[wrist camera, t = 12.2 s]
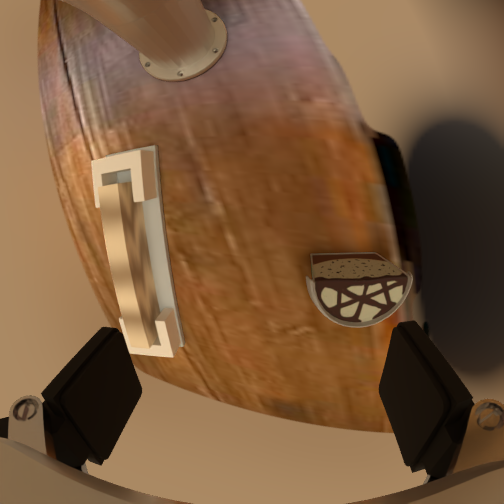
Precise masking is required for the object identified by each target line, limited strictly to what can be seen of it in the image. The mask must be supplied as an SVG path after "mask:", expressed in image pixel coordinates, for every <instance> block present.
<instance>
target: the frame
mask: <svg viewBox="0 0 504 504" xmlns="http://www.w3.org/2000/svg"><path fill="white" fill-rule="evenodd" d="M91 162H92V176H93V187H94V196H95V205H96V208H97V207H100V203H99V194H98V187H101V186H106V185H112V184H117V183H125V182H132V190H133V199H134V202H141V201H142V205H143V213H144V221H145V229H146V236H147V243H148V249H149V255H150V261H151V267H152V273H153V278H154V283H155V289H156V294H157V298H158V303H159V308H160V312H161V313H160V314H159V316H158V317H157V319H156V320H155V324H156V328H157V332H158V337H157V338H156V340H155V341H154V343H153V344H152V346H151V348H150V349H146V348H136V347H131V344H130V341H129V338H128V335H127V332H126V328H125V325H124V321H123V318H122V316H121V317H120V318H119V321H120V324H121V328H122V331H123V334H124V337H125V341H126V344H127V347H128V350H129V353H132V354H141V355H151V356H162V357H174V356H175V354H176V352H177V350H178V348H179V346H181V347H184V345H185V340H184V335H183V331H182V326H181V321H180V316H179V311H178V305H177V300H176V294H175V289H174V283H173V277H172V271H171V265H170V258H169V251H168V244H167V237H166V229H165V221H164V212H163V203H162V193H161V183H160V171H159V157H158V146H156V145H154V146H148V147H143V148H138V149H133V150H128V151H124V152H119V153H115V154H111V155H106V157H105V158H101V159H97V160H93V161H91Z"/></svg>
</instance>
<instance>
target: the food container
mask: <svg viewBox="0 0 504 504" xmlns="http://www.w3.org/2000/svg"><path fill="white" fill-rule="evenodd" d="M310 256H311V269H312V280H311V279H310V278H309V277H308V276H306V284H307V288H308V292H309V294H310V297H311V299H312V301H313V302H314V304H315V305H316V307H317V308H318V309H319V310H320V311H321V312H322V313H323V314H324V315H325V316H326V317H327V318H328V319H330V320H332V321H333V322H335V323H338V324H340V325H344V326H347V327H366V326H370V325H373V324H376V323H378V322H381V321H383V320H384V319H386V318H387V317H389V316H390V315H391V314H393V313H394V312H395V311H396V310H397V309H398V308H399V307H400V305H401V304H402V303H403V301H404V300H405V298H406V296H407V294H408V293H409V290H410V287H411V284H412V280H413V278H412V275H411V273H410V272H409V271H408V274H407V273H406V272H404V271H403V270H401V269H400V268H398V267H397V266H396V265H394V264H393V263H391V262H390V261H388V260H387V259H385V258H384V257H382V256H381V255H379V254H378V253H376V252H356V253H316V254H310Z"/></svg>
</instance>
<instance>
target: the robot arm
mask: <svg viewBox="0 0 504 504" xmlns="http://www.w3.org/2000/svg"><path fill="white" fill-rule="evenodd" d="M61 1H64V2H66V3H69V4H71V5H73V6H75V7H77V8H79V9H80V10H82V11H84V12H85V13H87V14H88V15H90V16H92V17H93V18H95V19H96V20H97V21H99V22H100V23H102V24H103V25H104V26H106V27H107V28H109V29H110V30H111V31H113V32H114V33H115V34H117V35H118V36H120V37H121V38H122V39H124V40H125V41H126V42H128V43H129V44H130V45H131V46H133V47H134V48H135V49H137V50H138V51H139V59H140V62H141V65H142V66H143V68H144V69H145V70H146V71H147V72H148V73H149V74H150V75H152V76H153V77H155V78H157V79H159V80H163V81H168V82H177V81H184V80H187V79H191V78H194V77H196V76H198V75H200V74H202V73H204V72H205V71H207V70H208V69H209V68H211V67H212V66H213V65H214V64H215V63H216V62H217V61H218V59H219V58H220V57H221V55H222V54H223V52H224V50H225V47H226V44H227V31H226V27H225V25H224V23H223V21H222V20H221V18H220V17H218V16H217V15H216V14H215V13H213V12H211V11H209V10H206V9H204V7H203V5H202V3H201V1H200V0H61ZM215 52H217V53H215ZM182 74H183V75H182ZM181 75H182V76H181ZM41 394H42V396H43V398H44V399H45V401H44V402H43V403H42V402H41V400H40V399H39V398H38V397H36V396H31V395H30V396H24V397H21V398H20V399H18V400H16V401H15V402H14V404H13V405H12V406H11V408H10V412H9V417H6V418H2V419H0V504H191V503H185V502H180V501H174V500H170V499H165V498H161V497H157V496H153V495H149V494H145V493H141V492H138V491H134V490H131V489H128V488H124V487H121V486H118V485H115V484H113V483H109V482H107V481H104V480H101V479H98V478H96V477H94V476H91V475H89V474H88V471H87V468H86V464H85V461H86V460H87V459H88V460H89V461H90V462H93V463H95V464H98V465H102V464H103V461H104V460H106V459H108V458H109V456H110V454H111V452H112V450H113V448H114V446H115V444H116V442H117V441H118V438H119V436H120V435H121V433H122V431H123V429H124V427H125V425H126V423H127V421H128V419H129V417H130V415H131V414H132V412H133V410H134V408H135V406H136V404H137V402H138V400H139V399H140V397H141V394H142V387H141V384H140V382H139V379H138V376H137V374H136V371H135V368H134V365H133V363H132V360H131V357H130V354H129V351H128V348H127V345H126V342H125V339H124V336H123V334H122V333H121V332H119V330H118V329H117V328H110V327H102V328H101V329H100V330H99V331H98V332H97V333H96V334H95V335H94V336H93V337H92V338H91V339H90V340H89V341H88V342H87V343H86V344H85V346H83V347H82V349H81V350H80V351H79V352H78V353H77V354H76V355H75V356H74V357H73V358H72V359H71V360H70V361H69V363H68V364H67V365H66V366H65V367H64V368H63V369H62V370H61V371H60V373H59V374H58V375H57V376H56V377H55V378H54V379H53V380H52V381H51V383H50V384H49V385H48V386H47V387H46V388H45V389H44V391H43V392H42V393H41ZM379 394H380V397H381V400H382V402H383V405H384V407H385V410H386V413H387V415H388V418H389V421H390V423H391V426H392V429H393V431H394V434H395V437H396V440H397V443H398V445H399V448H400V451H401V454H402V457H403V460H404V463H405V465H406V466H410V468H411V470H412V473H413V472H416V471H419V470H422V469H425V470H426V472H427V477H426V479H425V481H424V483H423V485H420V486H417V487H414V488H411V489H408V490H404V491H401V492H397V493H394V494H390V495H385V496H382V497H377V498H373V499H369V500H364V501H359V502H353V503H348V504H504V404H502V403H501V402H499V401H497V400H494V399H483V400H480V401H478V402H477V403H476V404H474V403H473V401H472V398H473V397H472V395H471V394H470V392H469V391H468V389H467V388H466V387H465V385H464V384H463V383H462V381H461V380H460V378H459V377H458V375H457V374H456V373H455V371H454V370H453V369H452V367H451V366H450V365H449V363H448V362H447V360H446V359H445V358H444V356H443V355H442V354H441V353H440V351H439V350H438V349H437V347H436V346H435V345H434V343H433V342H432V341H431V340H430V338H429V337H428V336H427V335H426V333H425V332H424V331H423V330H422V328H421V327H420V326H419V325H418V324H417V322H416V321H407V322H400V323H398V325H397V327H395V328H393V331H392V335H391V340H390V344H389V349H388V353H387V357H386V362H385V366H384V369H383V373H382V377H381V381H380V384H379Z"/></svg>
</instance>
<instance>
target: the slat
mask: <svg viewBox="0 0 504 504" xmlns="http://www.w3.org/2000/svg"><path fill="white" fill-rule="evenodd" d="M98 194H99V203H100V211H101V218H102V225H103V231H104V238H105V243H106V249H107V254H108V259H109V264H110V269H111V274H112V278H113V283H114V287H115V291H116V295H117V299H118V303H119V307H120V311H121V314H122V318H123V321H124V325H125V328H126V332H127V335H128V338H129V341H130V344H131V347H136V348H146V349H150V348H151V346H152V344H153V343H154V341H155V340H156V338H157V337H158V332H157V328H156V324H155V320H156V319H157V317H158V316H159V314H160V313H161V312H160V308H159V303H158V298H157V294H156V289H155V283H154V278H153V273H152V267H151V261H150V255H149V249H148V243H147V236H146V229H145V221H144V213H143V205H142V201H141V202H134V199H133V190H132V182H125V183H117V184H112V185H106V186H101V187H98Z"/></svg>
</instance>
